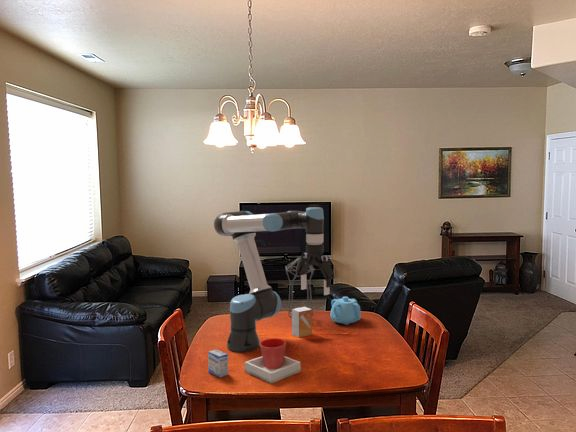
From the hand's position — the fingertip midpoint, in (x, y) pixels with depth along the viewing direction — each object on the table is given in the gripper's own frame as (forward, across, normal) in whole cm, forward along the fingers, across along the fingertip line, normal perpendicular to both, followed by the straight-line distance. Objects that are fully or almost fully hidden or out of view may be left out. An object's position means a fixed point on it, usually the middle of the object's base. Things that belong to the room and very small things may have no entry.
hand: (315, 291), depth 213 cm
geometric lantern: (+29, +40, -31) cm, 58 cm away
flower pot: (+28, +3, +22) cm, 35 cm away
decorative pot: (+29, +22, -48) cm, 60 cm away
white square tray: (+29, +1, +25) cm, 38 cm away
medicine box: (+29, +15, +41) cm, 53 cm away
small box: (+29, +24, -16) cm, 41 cm away
